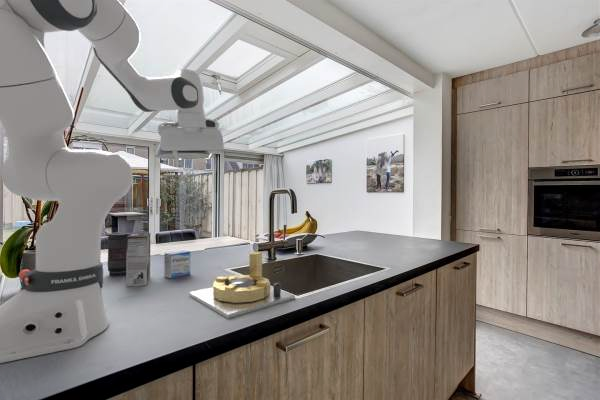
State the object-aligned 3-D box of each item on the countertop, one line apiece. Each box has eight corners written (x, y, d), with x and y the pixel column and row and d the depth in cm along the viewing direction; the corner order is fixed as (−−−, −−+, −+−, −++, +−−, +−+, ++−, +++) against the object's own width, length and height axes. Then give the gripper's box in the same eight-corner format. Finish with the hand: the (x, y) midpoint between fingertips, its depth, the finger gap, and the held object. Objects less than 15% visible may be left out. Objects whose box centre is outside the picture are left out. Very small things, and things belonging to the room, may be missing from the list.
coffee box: (130, 279, 106) (130, 232, 105) (150, 277, 108) (151, 232, 108) (125, 287, 97) (125, 236, 97) (147, 285, 99) (148, 235, 99)
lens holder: (232, 306, 78) (232, 267, 78) (203, 291, 90) (203, 257, 90) (287, 291, 91) (287, 258, 91) (256, 280, 103) (256, 250, 102)
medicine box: (170, 279, 107) (170, 254, 107) (163, 276, 110) (164, 252, 109) (190, 274, 113) (190, 251, 113) (183, 272, 116) (184, 249, 116)
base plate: (227, 318, 74) (227, 300, 74) (189, 295, 90) (189, 280, 90) (294, 298, 89) (295, 283, 89) (251, 281, 105) (251, 268, 105)
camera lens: (137, 271, 116) (138, 232, 115) (123, 277, 108) (123, 235, 107) (117, 271, 116) (118, 231, 116) (101, 276, 108) (102, 234, 108)
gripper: (156, 121, 96) (160, 165, 99) (223, 122, 103) (225, 163, 106) (158, 122, 102) (161, 164, 104) (221, 123, 109) (223, 162, 111)
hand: (194, 164), depth 105 cm, fingers open, 8 cm apart
